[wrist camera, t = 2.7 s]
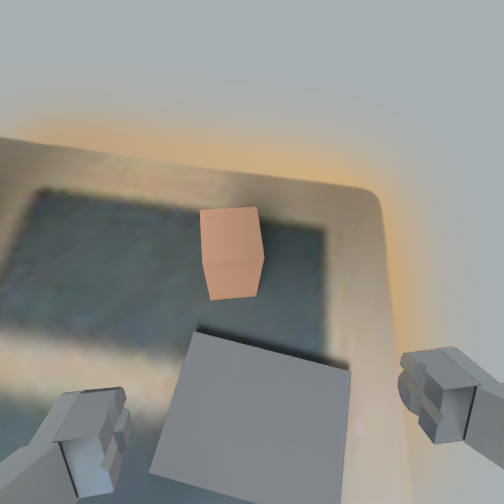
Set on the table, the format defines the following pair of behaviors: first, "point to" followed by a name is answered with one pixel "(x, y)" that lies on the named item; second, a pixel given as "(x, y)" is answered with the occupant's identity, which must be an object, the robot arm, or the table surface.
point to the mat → (256, 425)
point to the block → (231, 251)
